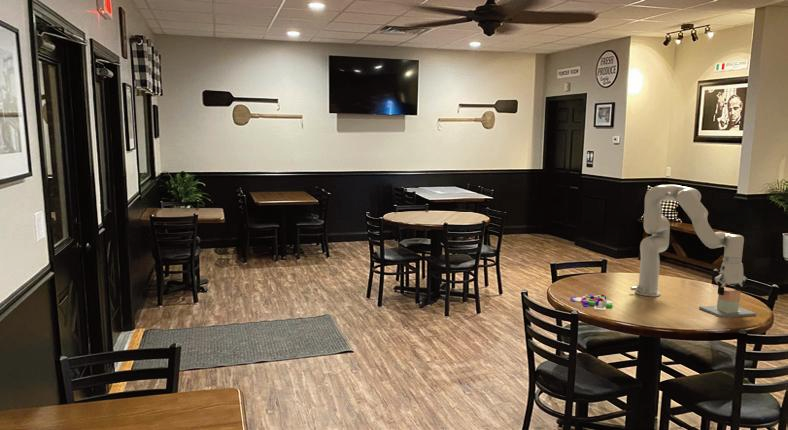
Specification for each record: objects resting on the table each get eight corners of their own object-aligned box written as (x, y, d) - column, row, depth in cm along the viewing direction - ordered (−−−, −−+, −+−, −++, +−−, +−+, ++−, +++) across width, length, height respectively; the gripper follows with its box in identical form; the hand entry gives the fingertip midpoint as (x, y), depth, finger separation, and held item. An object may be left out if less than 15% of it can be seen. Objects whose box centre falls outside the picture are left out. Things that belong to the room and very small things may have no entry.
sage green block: (726, 311, 274) (727, 301, 274) (716, 308, 281) (717, 298, 280) (738, 311, 276) (739, 301, 275) (727, 307, 282) (728, 297, 281)
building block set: (573, 294, 306) (574, 286, 306) (614, 299, 298) (615, 291, 297) (567, 307, 284) (568, 298, 283) (611, 312, 276) (611, 304, 275)
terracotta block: (728, 302, 273) (729, 292, 273) (718, 298, 280) (719, 288, 279) (739, 301, 275) (740, 291, 274) (728, 297, 281) (729, 287, 281)
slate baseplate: (720, 317, 270) (721, 315, 269) (699, 308, 283) (699, 306, 283) (756, 315, 274) (756, 313, 274) (733, 307, 287) (733, 304, 287)
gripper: (723, 262, 269) (719, 297, 272) (753, 261, 273) (750, 295, 275) (711, 258, 277) (707, 292, 279) (741, 257, 280) (737, 291, 283)
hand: (728, 294), depth 277 cm, fingers open, 9 cm apart
